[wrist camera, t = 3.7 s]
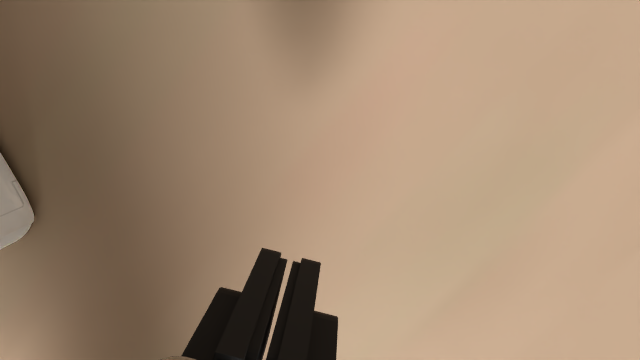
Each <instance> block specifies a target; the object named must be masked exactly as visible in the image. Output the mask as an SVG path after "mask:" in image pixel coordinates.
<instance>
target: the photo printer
mask: <svg viewBox="0 0 640 360" xmlns="http://www.w3.org/2000/svg"><path fill="white" fill-rule="evenodd" d="M33 222H34V213H33V210H32V208H31V206H30V204H29V201H28V199H27V197H26V195H25V193H24V191H23V190H22V188H21V186H20V184H19V183H18V181H17V180H16V178H15V176H14V174H13V173H12V171H11V169H10V168H9V166H8V164H7V163H6V161H5V159H4V158H3V156H2V155H1V153H0V249H2V248H4V247H6V246H8V245H10V244H12V243H14V242H16V241H18V240H19V239H21V238H22V237H23V236H24V235H25V234H26V233H27V231H28V230H29V228H30V227H31V224H32V223H33Z"/></svg>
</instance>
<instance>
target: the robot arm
mask: <svg viewBox="0 0 640 360" xmlns="http://www.w3.org/2000/svg"><path fill="white" fill-rule="evenodd" d="M280 257H281V253H280V252H276V251H272V250H269V249H265V248H262V249H261V251H260V254H259V256H258V258H257V260H256V262H255V265H254V267H253V269H252V271H251V273H250V276H249V278H248V280H247V282H246V284H245V287H244V289H243V291H242V292H238V291H234V290H230V289H226V288H222V287H221V288H219V290H218V291H217V293H216V295H215V297H214V298H213V300H212V302H211V304H210V306H209V307H208V309H207V311H206V313H205V315H204V316H203V318H202V320H201V322H200V324H199V325H198V327H197V329H196V331H195V333H194V334H193V336H192V338H191V340H190V341H189V343H188V345H187V347H186V349H185V350H184V352H183V354H182V356H172V357H168V358H164V359H160V360H262V359H263V355H264V352H265V348H266V344H267V341H268V337H269V333H270V329H271V325H272V320H273V316H274V312H275V308H276V304H277V300H278V296H279V292H280V288H281V284H282V280H283V275H284V271H285V267H286V263H287V259H283V258H280ZM320 265H321V263H320V262H316V261H312V260H308V259H304V258H302V260H301V263H298V262H295V261H293V264H292V268H291V271H290V275H289V278H288V282H287V286H286V289H285V293H284V296H283V300H282V304H281V307H280V311H279V314H278V318H277V322H276V325H275V329H274V332H273V336H272V340H271V343H270V347H269V350H268V354H267V358H266V360H336V351H337V331H338V317H337V316H333V315H329V314H325V313H321V312H317V311H314V306H315V299H316V293H317V286H318V279H319V272H320Z"/></svg>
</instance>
